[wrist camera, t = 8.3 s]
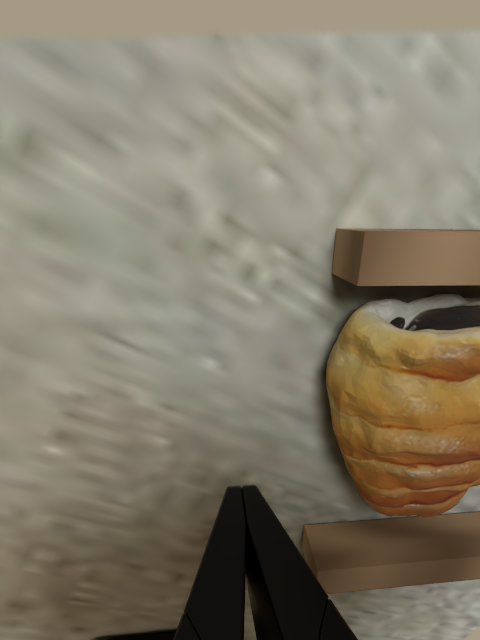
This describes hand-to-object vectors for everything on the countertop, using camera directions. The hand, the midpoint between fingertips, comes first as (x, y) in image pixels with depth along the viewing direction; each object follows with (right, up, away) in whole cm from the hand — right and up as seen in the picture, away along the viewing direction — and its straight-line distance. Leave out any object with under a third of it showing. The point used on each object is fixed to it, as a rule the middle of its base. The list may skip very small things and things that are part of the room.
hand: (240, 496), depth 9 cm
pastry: (+7, +3, +4) cm, 8 cm away
